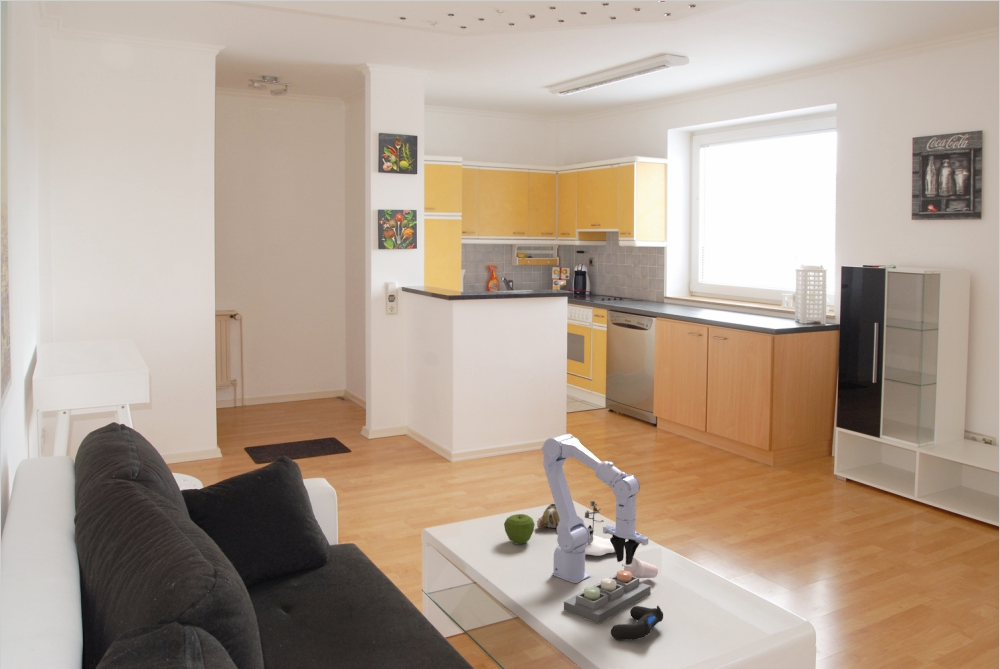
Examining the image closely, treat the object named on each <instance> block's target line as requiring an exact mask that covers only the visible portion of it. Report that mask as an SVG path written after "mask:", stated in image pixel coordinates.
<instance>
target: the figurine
mask: <svg viewBox="0 0 1000 669" xmlns="http://www.w3.org/2000/svg"><path fill="white" fill-rule="evenodd" d="M589 503H590V504H589V505H590V507H592V511H591V512H590V511H589V510H586V511H585V512H584V519H587V520H588V519H589V520H592V525H590V524H589V525H588V527H587V528H588V530H589V532H590V539H589V541H588V542H587V543H586V547H585V555H591V556H595V557H596V556H599V557H600V556H603V555H606V554H609V553H610V554H611V553H612V554H613V553H615V550H614V547H613V545H612V543H611V542H610V538H603V537H601V536H598V535H594V532H595V530H594V526H595V525H594V524H595V522H596V523H604V522H605V521H604V519H601V520H595V515H596V514H597V515H598V513H601V512H600V511H601V508H599V509H597V506H598V503H596V501H595V500H590V502H589ZM590 516H592V517H590Z"/></svg>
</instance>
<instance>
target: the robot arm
mask: <svg viewBox="0 0 1000 669" xmlns="http://www.w3.org/2000/svg"><path fill="white" fill-rule="evenodd" d="M541 450H542V454H543V463H542V464H543V469H544V472H545V476H546V479H547V482H548V486H549V488H550V491H551V495H552V498H553V502H555V506H556V509H557V512H558V516H559V519H560V522H559V524H558V526H557V527H556V532H557V537H556V538H557V540H556V541H557V544H558V545H557V546H556V548H555V550H554V553H553V572H552V573H551V576H553V575H554V576H553V577H557V578H559V579H562V580H565V581H567V582H570V583H573V584H577V583H581V582H582V581H583V580H585V579H587V578H589V577H591V574H590V573H587V572H586V554H585V547H586V543H587V542H588V541H589V539H590V532H589V530H588V527H587V525H586V524H585V522H584V519H583V518H581V517H580V516H578V515H577V512H576V508H575V505H574V502H573V498H572V495H571V492H570V489H569V485H568V481H567V479H566V475H565V472H564V469H563V465H564V464H565V462H566V460H567V458H568V459H569V458H575V459H576V460H577V461H579V462H581V463H582V464H583V465H585V466H587V467H588V468H589V469H591V470H593V471H594V472H595V477H596V478H598V479H599V480H600V481H601V482H602V483H604V484H605V485H606V486H608V487H610V488H611V489H612V493H613V494H614V496H615V502H616V503H615V526H611V525H604V526H602V533H603V534H606V535H607V534H608V535H612V536H611V537H610V538H609V539H610V542H611V543H612V545H613V547H614V550H615V552H614V553H615V556H616V561H617V563H620V562H622V561H624V557H625V562H626V565H629V564H631V563H632V560H633V558H634V556H635V554H636V551H637V549H638V548H639V545H640V544H641V545H642V546H646V545H648V544H649V537H648V536H645V535H644V534H641V533H640V532H637V531H636V518H637V515H636V514H637V513H636V512H637V494H638V493H639V492H640V489H641V483H640V481H639V479H638V478H637V477H636V475H633V474H627V473H626V472H625V471H622V470H621V469H619V468H618V467H616V466H615V465H614V462H613V461H608V460H603V461H601V460H600V458H598V457H597V456H596V455H595V454H593V453H592V452H591V451H589V450H588V449H587V448H586V447H585V446H584V445H582V444H581V442H580V440H579V438H576V437H574V436H573V434H572V433H564V434H562V435H561V434H560V435H558V436H554V437H549V438H547V439H546V440H545V441H544V443H543V444H542V447H541ZM626 540H627V541H626ZM624 553H625V554H624Z"/></svg>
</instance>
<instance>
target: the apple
mask: <svg viewBox="0 0 1000 669" xmlns="http://www.w3.org/2000/svg"><path fill="white" fill-rule="evenodd" d="M503 526H504V531H505V534H506V536H507V538H508V540H509V541H511V542H513V543H514V544H516V545H523V544H526V543H527V542H528V541H530V539H531V538H532V536H533V532H534V529H535V520H534V519H533V518H532V517H531V516H529V515H528V514H525V513H524V514H523V513H519V514H518V513H517V514H513V515H511V516H509V517H507V518H506V519H505V521H504V523H503Z"/></svg>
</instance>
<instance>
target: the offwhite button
mask: <svg viewBox="0 0 1000 669" xmlns="http://www.w3.org/2000/svg"><path fill="white" fill-rule="evenodd" d="M600 582H601V589H603V590H606V591H609V592H612V591H614V590H616V581H615V580H613V579H608V578H602V579H601V580H600Z"/></svg>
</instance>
